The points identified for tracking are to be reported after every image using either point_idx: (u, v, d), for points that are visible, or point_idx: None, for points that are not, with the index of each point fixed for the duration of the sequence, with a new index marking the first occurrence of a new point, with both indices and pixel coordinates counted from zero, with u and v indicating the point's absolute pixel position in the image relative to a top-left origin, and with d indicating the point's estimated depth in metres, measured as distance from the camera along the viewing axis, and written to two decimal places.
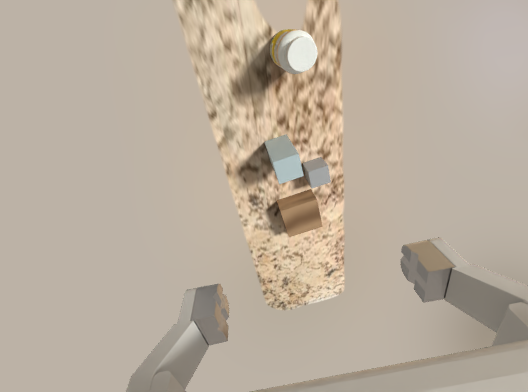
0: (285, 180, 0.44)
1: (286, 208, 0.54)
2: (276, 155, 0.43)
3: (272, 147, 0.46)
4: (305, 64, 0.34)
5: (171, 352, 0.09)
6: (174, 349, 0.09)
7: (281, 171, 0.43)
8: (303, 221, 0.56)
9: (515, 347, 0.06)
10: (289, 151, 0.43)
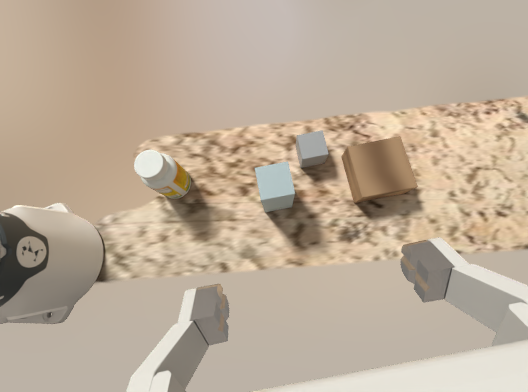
0: (290, 185, 0.33)
1: (358, 188, 0.37)
2: None
3: None
4: (157, 160, 0.34)
5: (171, 352, 0.09)
6: (174, 349, 0.09)
7: (276, 189, 0.33)
8: (386, 164, 0.37)
9: (515, 347, 0.06)
10: None
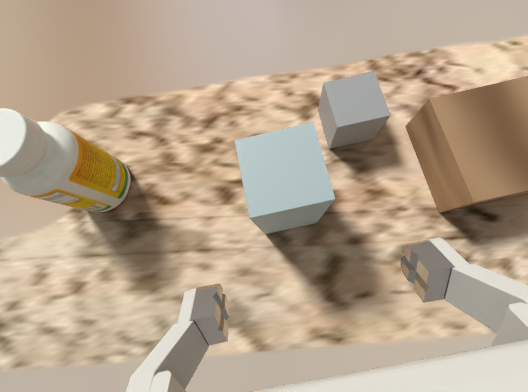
0: (323, 178, 0.13)
1: (462, 182, 0.17)
2: None
3: None
4: (13, 131, 0.15)
5: (170, 352, 0.09)
6: (174, 349, 0.09)
7: (287, 191, 0.13)
8: (518, 131, 0.18)
9: (515, 347, 0.06)
10: None
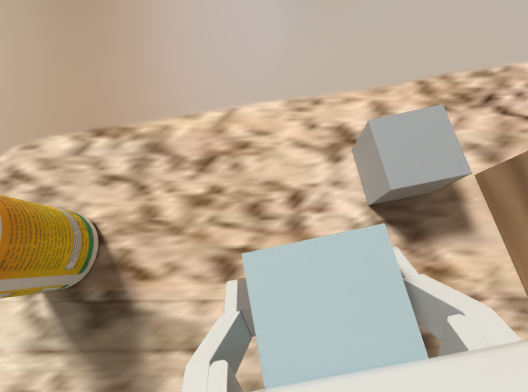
0: (411, 343, 0.07)
1: None
2: None
3: None
4: None
5: (222, 342, 0.09)
6: (225, 339, 0.09)
7: (344, 367, 0.07)
8: None
9: (515, 347, 0.06)
10: None
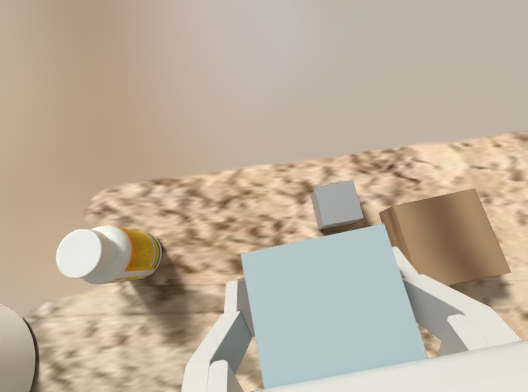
0: (411, 343, 0.07)
1: None
2: None
3: None
4: (92, 248, 0.21)
5: (222, 341, 0.09)
6: (225, 339, 0.09)
7: (343, 367, 0.07)
8: (456, 235, 0.24)
9: (515, 347, 0.06)
10: None
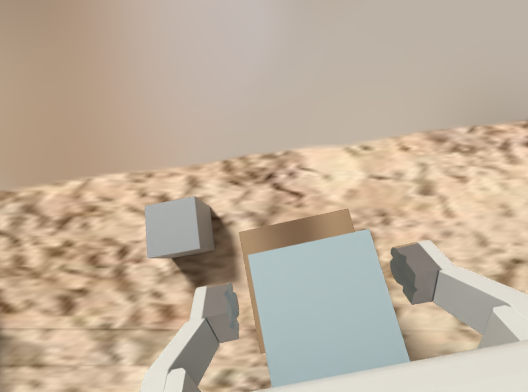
0: (390, 329, 0.08)
1: (256, 328, 0.17)
2: None
3: None
4: None
5: (184, 349, 0.09)
6: (187, 346, 0.09)
7: (334, 349, 0.08)
8: None
9: (515, 347, 0.06)
10: None
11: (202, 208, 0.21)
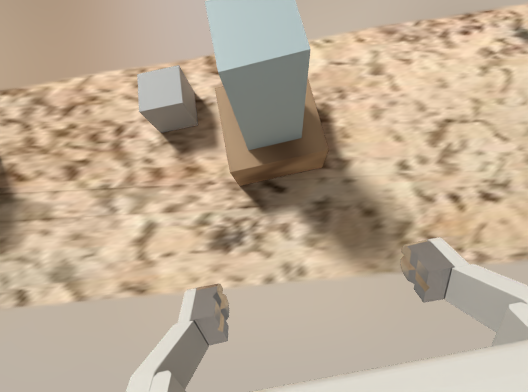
0: (297, 30, 0.12)
1: (227, 156, 0.21)
2: None
3: None
4: None
5: (170, 352, 0.09)
6: (174, 349, 0.09)
7: (259, 44, 0.12)
8: None
9: (515, 347, 0.06)
10: None
11: (186, 83, 0.25)
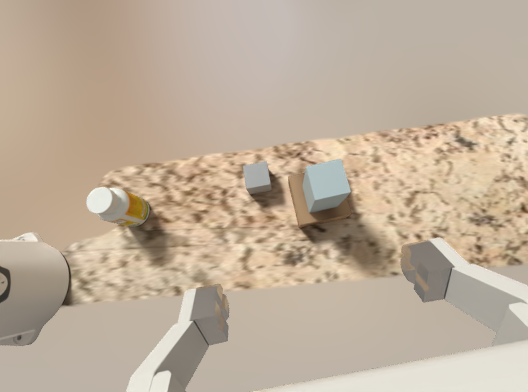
0: (345, 183, 0.31)
1: (297, 215, 0.40)
2: (311, 195, 0.33)
3: (309, 202, 0.36)
4: (107, 197, 0.37)
5: (170, 352, 0.09)
6: (174, 349, 0.09)
7: (330, 188, 0.31)
8: None
9: (515, 347, 0.06)
10: (307, 179, 0.33)
11: None
